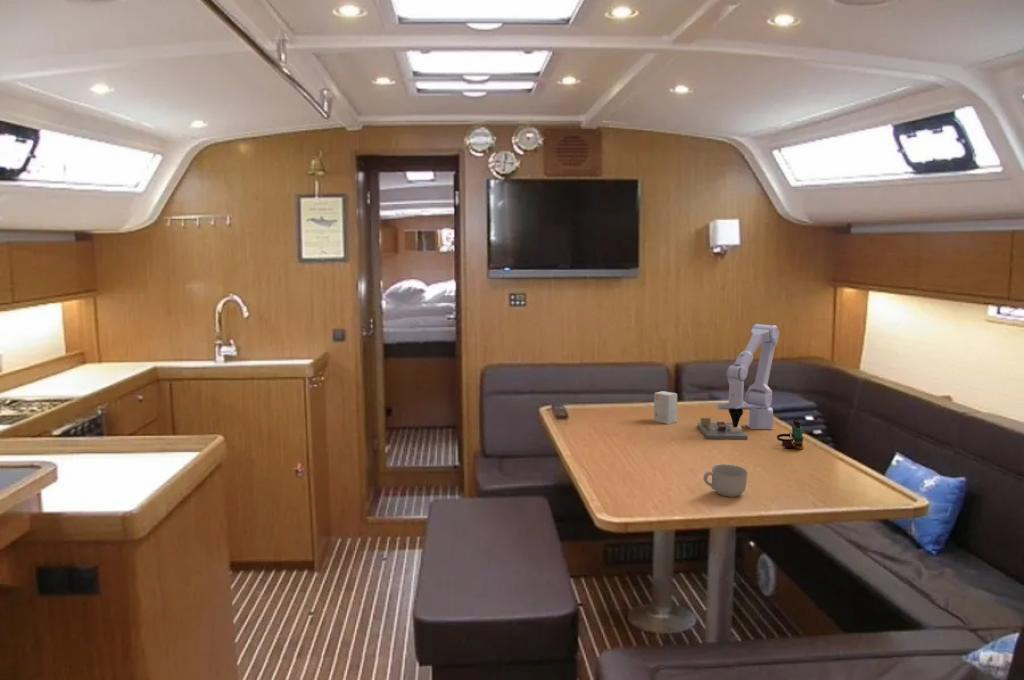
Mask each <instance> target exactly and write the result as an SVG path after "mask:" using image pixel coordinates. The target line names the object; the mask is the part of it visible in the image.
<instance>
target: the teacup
mask: <svg viewBox="0 0 1024 680" xmlns="http://www.w3.org/2000/svg"><path fill="white" fill-rule="evenodd" d="M711 470H712V471H706V472H705V473H704V474H703V481H704V483H705V484H706V485H707V486H709V487H711V489H712V490H714V491H715V492H716V493H717V494H719V495H720V496H722V497H728V498H729V497H730V498H735V497H739V496H740V495H741V494H743V493H744V492H745V490H746V487H747V479H748V470H747V469H746V468H744V467H741V466H737V465H734V464H727V463H726V464H722V463H721V464H715V465H713V466H712V467H711ZM709 476H711V482H709V481H708V478H709Z"/></svg>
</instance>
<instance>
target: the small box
mask: <svg viewBox="0 0 1024 680" xmlns="http://www.w3.org/2000/svg"><path fill="white" fill-rule="evenodd" d="M653 400H654V403H653V405H654V406H653V407H654V408H653V409H654V413H653V422H657V423H660V424H661V423H662V424H665V425H671V424H675V423H677V422H678V393H676V392H672V391H671V392H670V391H665V390H664V391H663V390H662V391H658V392H654V398H653Z"/></svg>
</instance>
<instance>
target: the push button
mask: <svg viewBox="0 0 1024 680" xmlns="http://www.w3.org/2000/svg"><path fill="white" fill-rule="evenodd" d="M742 430H743V428H742V427H741V425H739V424H738V426H737V427H733V425H729V431H730V432H742Z"/></svg>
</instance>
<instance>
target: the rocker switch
mask: <svg viewBox="0 0 1024 680" xmlns="http://www.w3.org/2000/svg"><path fill="white" fill-rule="evenodd" d="M716 423H717V425H718V427H719V429H726V425H725V423H726V422H725V421H716Z"/></svg>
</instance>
